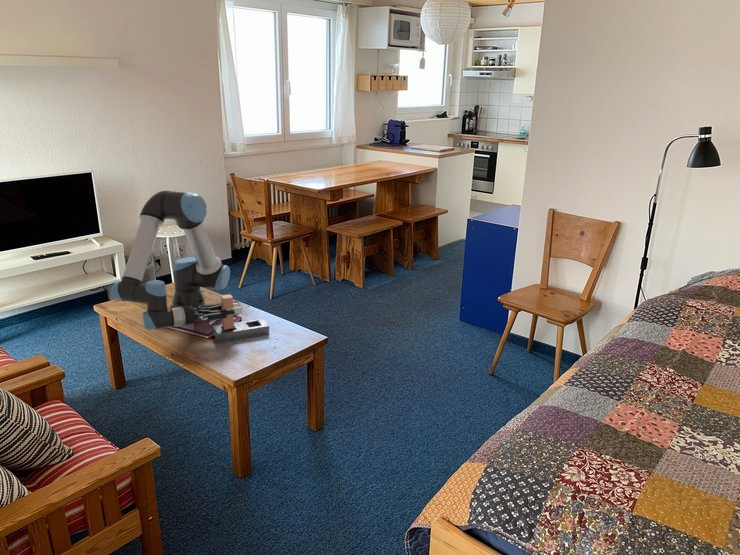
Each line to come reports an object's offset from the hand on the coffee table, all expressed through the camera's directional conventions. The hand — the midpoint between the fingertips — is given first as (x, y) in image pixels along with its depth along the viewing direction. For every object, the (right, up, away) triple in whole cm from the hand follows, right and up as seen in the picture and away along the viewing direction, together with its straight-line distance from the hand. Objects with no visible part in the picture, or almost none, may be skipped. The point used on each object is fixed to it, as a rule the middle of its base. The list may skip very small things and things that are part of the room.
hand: (240, 308), depth 241 cm
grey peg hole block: (0, -12, +4) cm, 13 cm away
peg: (-5, -8, 0) cm, 10 cm away
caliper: (-12, -6, +21) cm, 25 cm away
